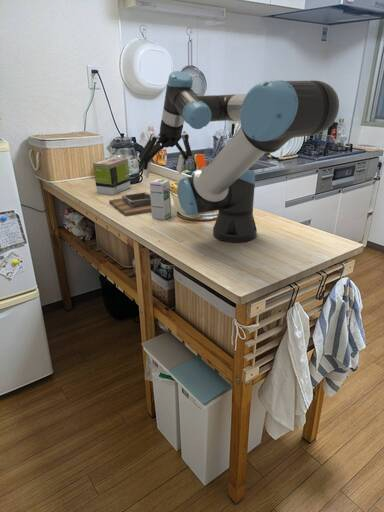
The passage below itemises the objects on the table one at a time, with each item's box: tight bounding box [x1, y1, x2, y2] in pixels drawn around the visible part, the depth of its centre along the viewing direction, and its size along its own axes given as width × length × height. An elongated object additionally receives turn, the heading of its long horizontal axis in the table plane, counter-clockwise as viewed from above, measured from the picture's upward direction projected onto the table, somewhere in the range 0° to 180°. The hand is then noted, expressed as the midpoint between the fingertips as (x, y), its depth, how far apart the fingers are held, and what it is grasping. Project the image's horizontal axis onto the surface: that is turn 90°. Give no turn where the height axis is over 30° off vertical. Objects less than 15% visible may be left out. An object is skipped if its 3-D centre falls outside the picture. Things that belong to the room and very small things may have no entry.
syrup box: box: [149, 178, 172, 221], centre depth 145 cm, size 6×6×14 cm
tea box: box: [92, 157, 132, 196], centre depth 182 cm, size 15×10×15 cm, turn 154°
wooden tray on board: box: [108, 191, 152, 217], centre depth 161 cm, size 20×20×4 cm
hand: (162, 173), depth 140 cm, fingers open, 13 cm apart
